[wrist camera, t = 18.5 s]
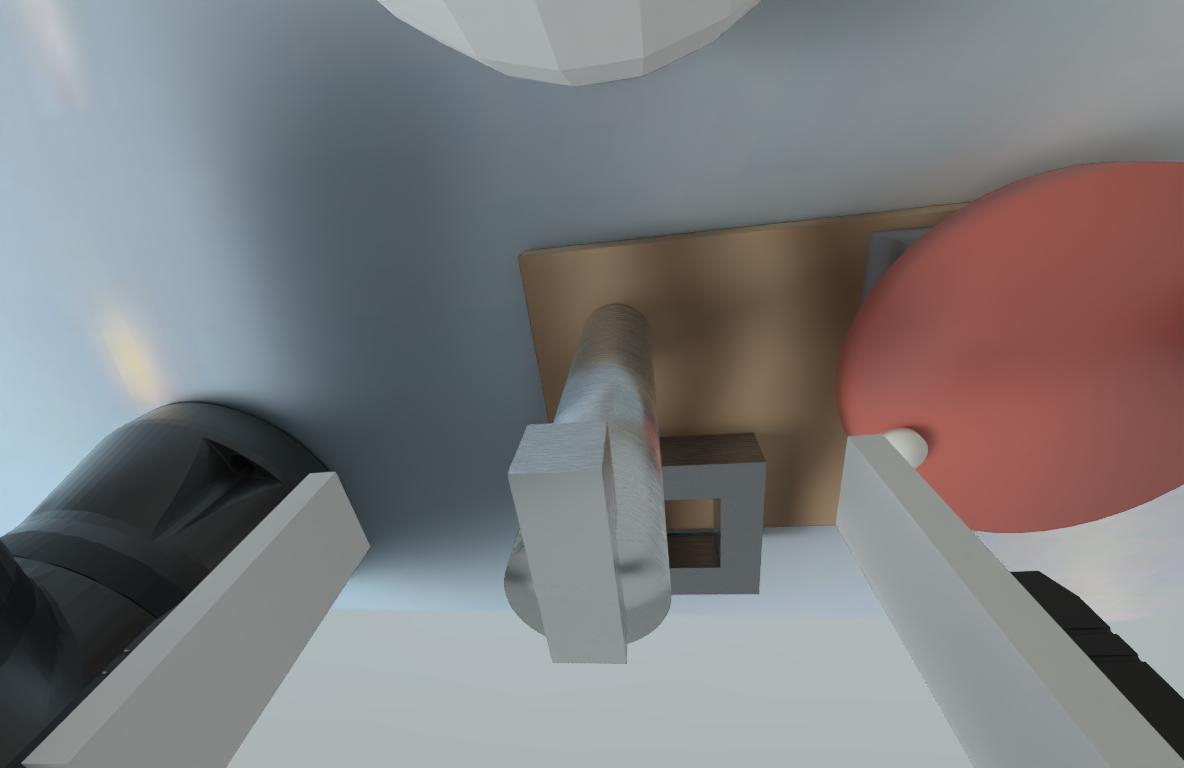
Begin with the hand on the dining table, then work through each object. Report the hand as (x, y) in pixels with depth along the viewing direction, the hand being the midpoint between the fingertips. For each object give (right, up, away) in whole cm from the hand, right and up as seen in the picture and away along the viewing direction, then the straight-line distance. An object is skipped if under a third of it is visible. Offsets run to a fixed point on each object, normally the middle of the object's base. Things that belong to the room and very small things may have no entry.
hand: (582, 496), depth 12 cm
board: (+11, +3, +11) cm, 16 cm away
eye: (+5, -4, +13) cm, 15 cm away
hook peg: (+1, +5, +9) cm, 11 cm away
